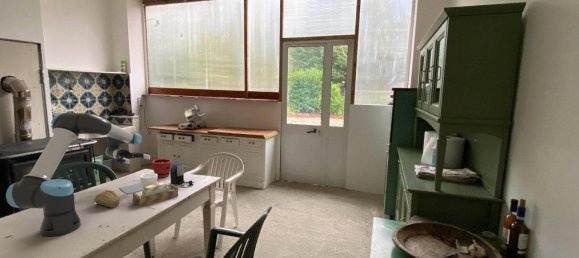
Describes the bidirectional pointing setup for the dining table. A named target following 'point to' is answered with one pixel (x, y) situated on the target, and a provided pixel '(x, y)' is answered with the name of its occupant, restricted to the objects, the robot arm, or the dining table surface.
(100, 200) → the bread roll
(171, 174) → the milk frother
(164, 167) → the plant pot
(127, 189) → the slate mat
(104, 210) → the dining table surface
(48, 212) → the robot arm
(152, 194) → the sage painted offcut
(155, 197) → the offcut rack
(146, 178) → the foam cup
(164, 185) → the short birch offcut
